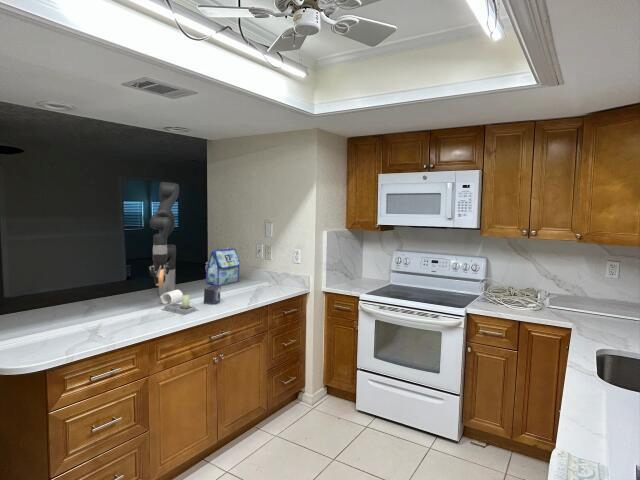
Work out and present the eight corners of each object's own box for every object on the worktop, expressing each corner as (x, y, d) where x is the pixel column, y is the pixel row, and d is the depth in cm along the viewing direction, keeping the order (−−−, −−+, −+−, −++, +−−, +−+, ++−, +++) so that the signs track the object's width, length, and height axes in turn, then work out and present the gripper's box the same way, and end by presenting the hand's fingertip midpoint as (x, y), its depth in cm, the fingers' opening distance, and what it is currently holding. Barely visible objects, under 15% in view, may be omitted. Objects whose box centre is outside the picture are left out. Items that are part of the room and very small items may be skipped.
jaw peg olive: (180, 311, 227) (180, 295, 226) (185, 309, 230) (185, 294, 229) (185, 312, 225) (186, 296, 224) (190, 310, 229) (191, 295, 228)
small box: (213, 306, 243) (213, 289, 242) (203, 305, 244) (203, 288, 243) (220, 302, 253) (221, 286, 252) (211, 301, 254) (211, 285, 253)
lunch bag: (219, 287, 293) (220, 251, 290) (204, 283, 302) (205, 249, 299) (241, 282, 311) (242, 249, 309) (226, 279, 320) (227, 246, 318)
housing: (160, 311, 228) (160, 306, 227) (175, 306, 239) (175, 301, 238) (184, 316, 220) (184, 311, 220) (199, 311, 231) (199, 306, 231)
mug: (183, 303, 247) (183, 290, 246) (172, 306, 238) (172, 293, 237) (167, 300, 251) (167, 287, 250) (155, 304, 242) (155, 291, 241)
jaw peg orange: (154, 285, 224) (154, 269, 223) (159, 283, 227) (160, 268, 226) (159, 286, 222) (159, 270, 221) (165, 284, 226) (165, 269, 225)
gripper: (165, 250, 231) (164, 279, 233) (144, 253, 218) (144, 284, 220) (174, 252, 227) (174, 281, 229) (154, 255, 215) (154, 286, 217)
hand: (159, 282), depth 225 cm, fingers closed on jaw peg orange, 4 cm apart
